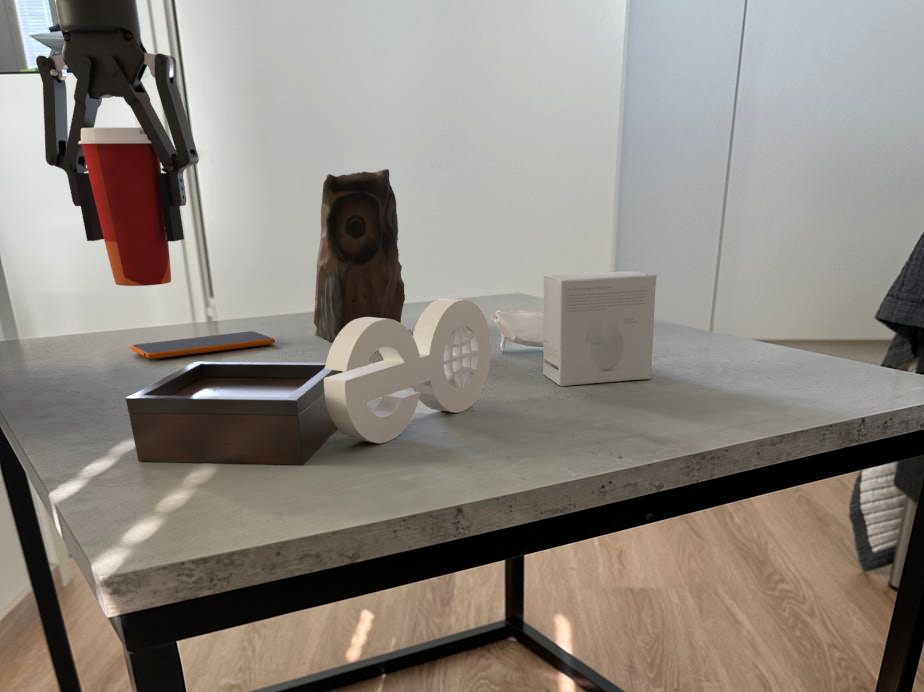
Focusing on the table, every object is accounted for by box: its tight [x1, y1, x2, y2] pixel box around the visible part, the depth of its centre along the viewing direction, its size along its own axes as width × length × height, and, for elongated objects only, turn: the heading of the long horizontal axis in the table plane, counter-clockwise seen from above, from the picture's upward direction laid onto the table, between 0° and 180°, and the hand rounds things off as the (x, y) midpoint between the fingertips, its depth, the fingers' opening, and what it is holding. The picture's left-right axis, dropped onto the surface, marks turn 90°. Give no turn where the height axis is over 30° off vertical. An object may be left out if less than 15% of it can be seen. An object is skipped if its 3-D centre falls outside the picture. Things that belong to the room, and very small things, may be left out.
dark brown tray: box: [125, 361, 343, 466], centre depth 80 cm, size 14×14×5 cm
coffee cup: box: [78, 126, 172, 287], centre depth 99 cm, size 8×8×15 cm
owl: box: [313, 168, 406, 344], centre depth 118 cm, size 13×13×20 cm
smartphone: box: [130, 330, 276, 360], centre depth 118 cm, size 8×17×1 cm, turn 125°
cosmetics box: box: [542, 270, 658, 387], centre depth 98 cm, size 10×6×10 cm, turn 104°
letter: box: [324, 297, 492, 444], centre depth 82 cm, size 22×2×10 cm, turn 148°
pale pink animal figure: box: [490, 309, 544, 354], centre depth 112 cm, size 5×7×10 cm
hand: (136, 239), depth 100 cm, fingers closed on coffee cup, 8 cm apart
